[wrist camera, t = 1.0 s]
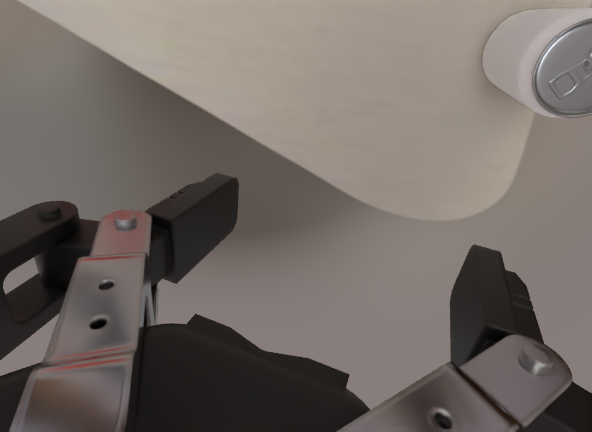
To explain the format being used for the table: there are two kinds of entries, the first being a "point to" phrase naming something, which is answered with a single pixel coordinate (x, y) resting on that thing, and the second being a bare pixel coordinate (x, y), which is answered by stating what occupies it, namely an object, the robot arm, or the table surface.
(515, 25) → the can
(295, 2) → the table surface
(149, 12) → the table surface
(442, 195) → the table surface
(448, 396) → the robot arm
